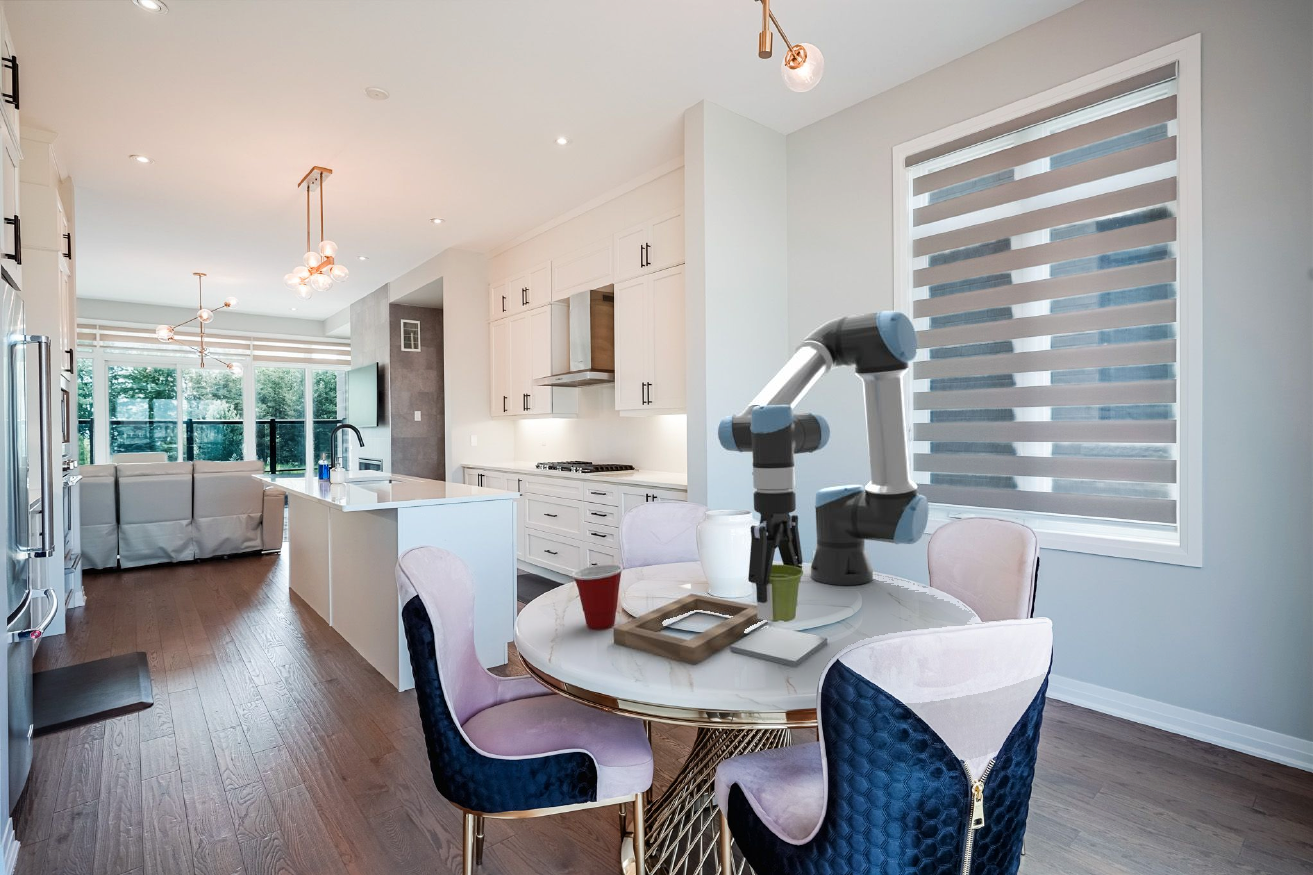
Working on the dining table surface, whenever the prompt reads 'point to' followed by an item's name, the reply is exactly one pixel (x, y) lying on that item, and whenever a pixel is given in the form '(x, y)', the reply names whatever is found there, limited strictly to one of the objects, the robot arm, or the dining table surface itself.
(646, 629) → the open rectangular wooden frame
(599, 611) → the plastic cup
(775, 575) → the plant pot
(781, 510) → the robot arm
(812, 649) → the slate coaster
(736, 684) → the dining table surface
